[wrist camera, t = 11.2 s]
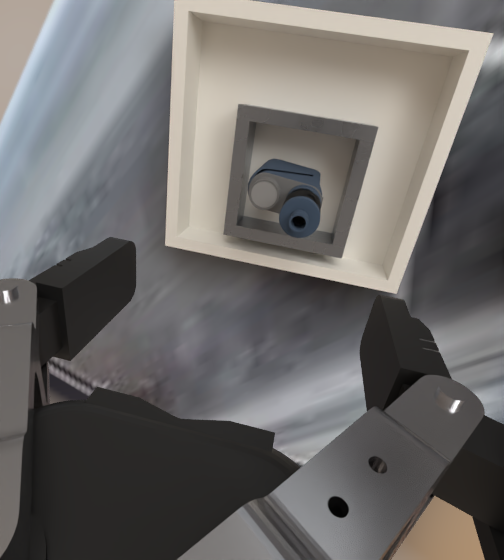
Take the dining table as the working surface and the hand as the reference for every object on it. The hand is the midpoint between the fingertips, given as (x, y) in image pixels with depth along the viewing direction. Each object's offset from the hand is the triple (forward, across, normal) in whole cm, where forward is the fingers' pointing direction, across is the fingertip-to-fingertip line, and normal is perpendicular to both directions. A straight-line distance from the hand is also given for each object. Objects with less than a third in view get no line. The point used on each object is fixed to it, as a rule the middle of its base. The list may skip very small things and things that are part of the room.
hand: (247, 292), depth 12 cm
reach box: (+22, 0, -2) cm, 22 cm away
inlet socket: (+22, 0, 0) cm, 22 cm away
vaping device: (+21, 0, 0) cm, 21 cm away
